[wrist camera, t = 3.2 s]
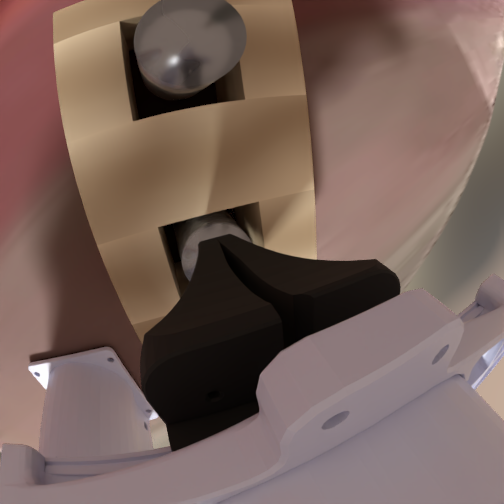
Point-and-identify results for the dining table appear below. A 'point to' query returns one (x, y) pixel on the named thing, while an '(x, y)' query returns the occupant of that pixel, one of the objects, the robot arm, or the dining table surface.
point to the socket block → (183, 148)
